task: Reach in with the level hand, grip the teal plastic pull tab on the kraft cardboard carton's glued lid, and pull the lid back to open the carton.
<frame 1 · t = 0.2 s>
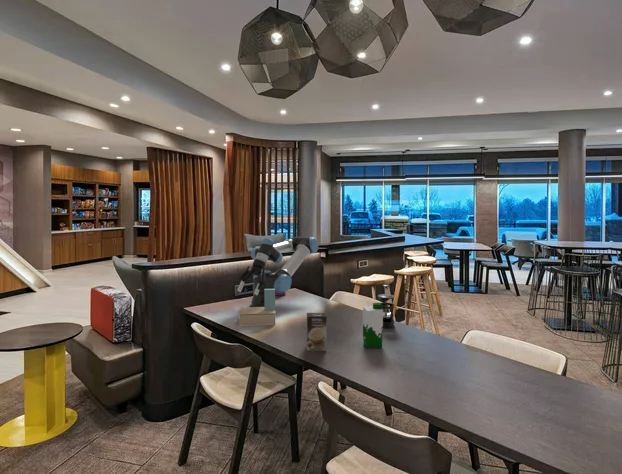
hand: (247, 292, 218), 15 cm above the table, tool tilted 35°, fingers open, 13 cm apart
carton: (257, 321, 211), on the table
milk carton: (372, 345, 173), on the table
candy bar box: (278, 294, 280), on the table
coffee box: (316, 349, 169), on the table
carton lid: (257, 300, 210), point 13 cm above the table, slide at 0.0 cm
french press: (385, 325, 203), on the table
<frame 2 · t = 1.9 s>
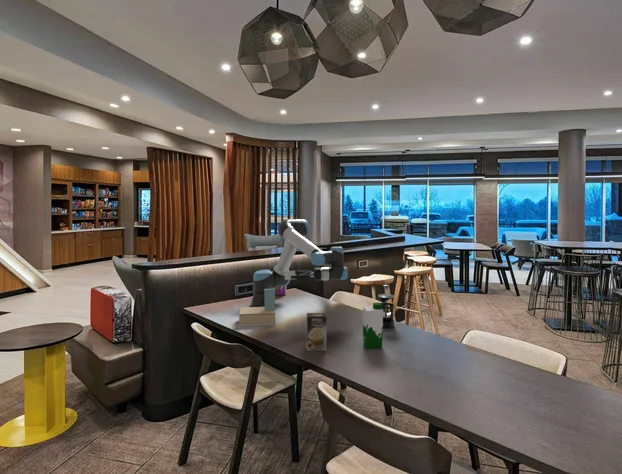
hand: (284, 275, 211), 27 cm above the table, tool horizontal, fingers open, 13 cm apart
nothing on the table moved.
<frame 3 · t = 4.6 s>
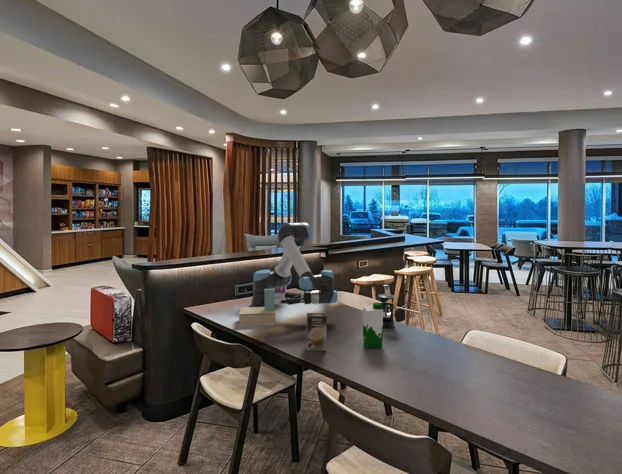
hand: (274, 298, 210), 13 cm above the table, tool horizontal, fingers open, 13 cm apart
nothing on the table moved.
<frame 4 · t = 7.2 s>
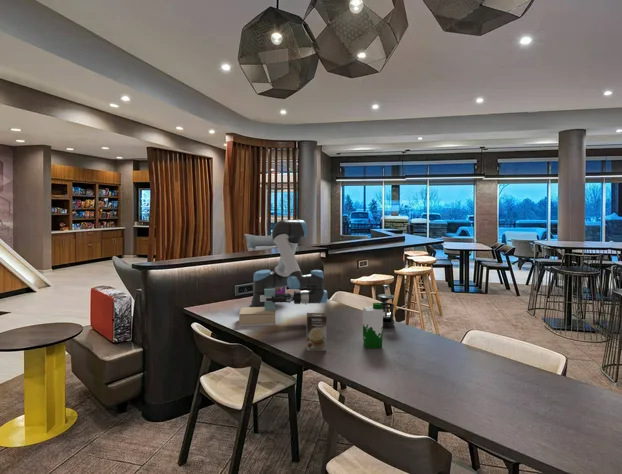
hand: (260, 298, 210), 14 cm above the table, tool horizontal, fingers closed on carton lid, 3 cm apart
carton lid: (257, 300, 210), point 13 cm above the table, slide at 0.0 cm, touching gripper
everything else where it was.
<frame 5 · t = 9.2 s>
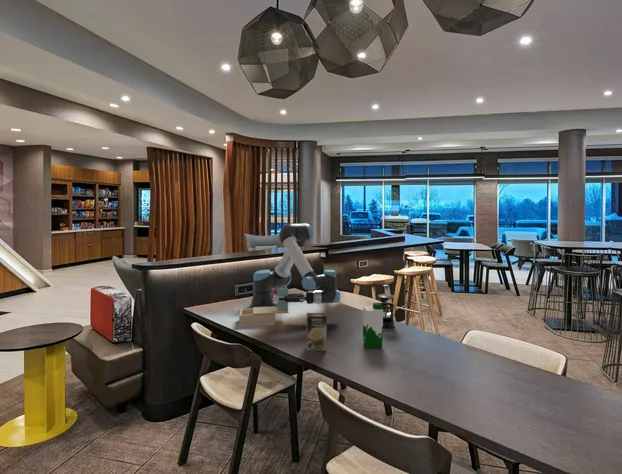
hand: (273, 298, 211), 14 cm above the table, tool horizontal, fingers closed on carton lid, 3 cm apart
carton lid: (270, 299, 211), point 13 cm above the table, slide at 7.5 cm, touching gripper
everything else where it was.
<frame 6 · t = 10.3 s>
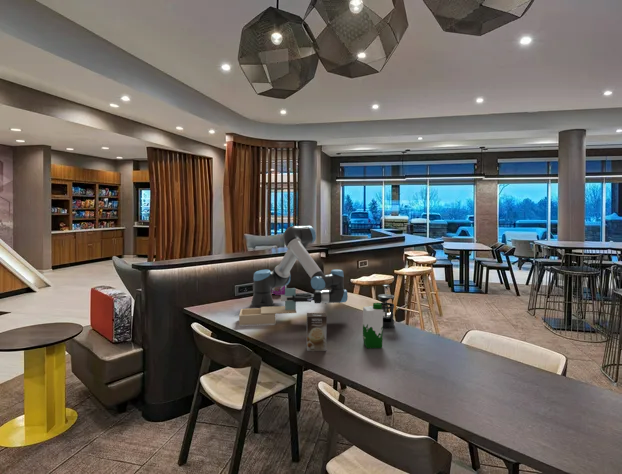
hand: (281, 297, 211), 14 cm above the table, tool horizontal, fingers closed on carton lid, 3 cm apart
carton lid: (278, 299, 211), point 13 cm above the table, slide at 11.9 cm, touching gripper
everything else where it was.
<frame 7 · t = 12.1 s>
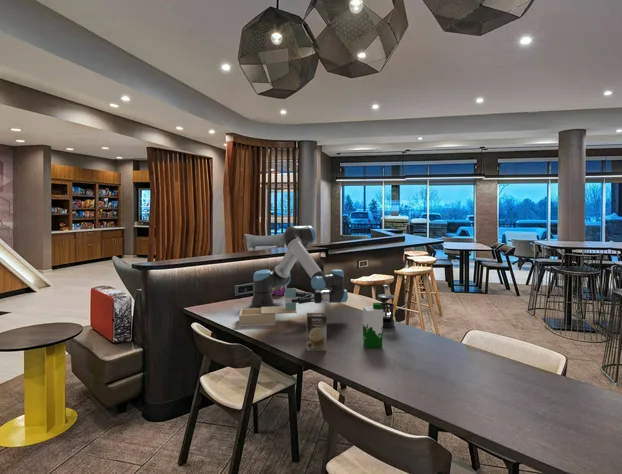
hand: (284, 297, 212), 14 cm above the table, tool horizontal, fingers open, 13 cm apart
carton lid: (278, 299, 211), point 13 cm above the table, slide at 12.1 cm
everything else where it was.
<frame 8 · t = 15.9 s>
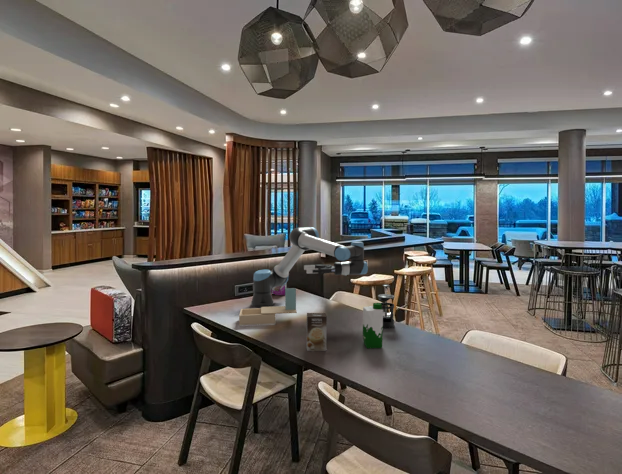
hand: (305, 269, 212), 30 cm above the table, tool horizontal, fingers open, 13 cm apart
nothing on the table moved.
at the end: carton lid slide at 12.1 cm; the gripper is holding nothing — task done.
